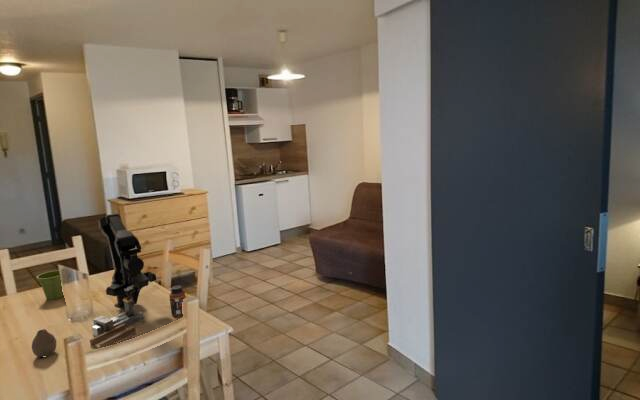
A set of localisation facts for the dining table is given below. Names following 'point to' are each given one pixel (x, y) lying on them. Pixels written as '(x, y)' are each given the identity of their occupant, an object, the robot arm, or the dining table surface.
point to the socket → (109, 324)
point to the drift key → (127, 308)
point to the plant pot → (51, 284)
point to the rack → (112, 336)
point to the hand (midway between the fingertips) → (135, 303)
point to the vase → (43, 343)
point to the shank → (98, 328)
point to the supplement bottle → (176, 300)
